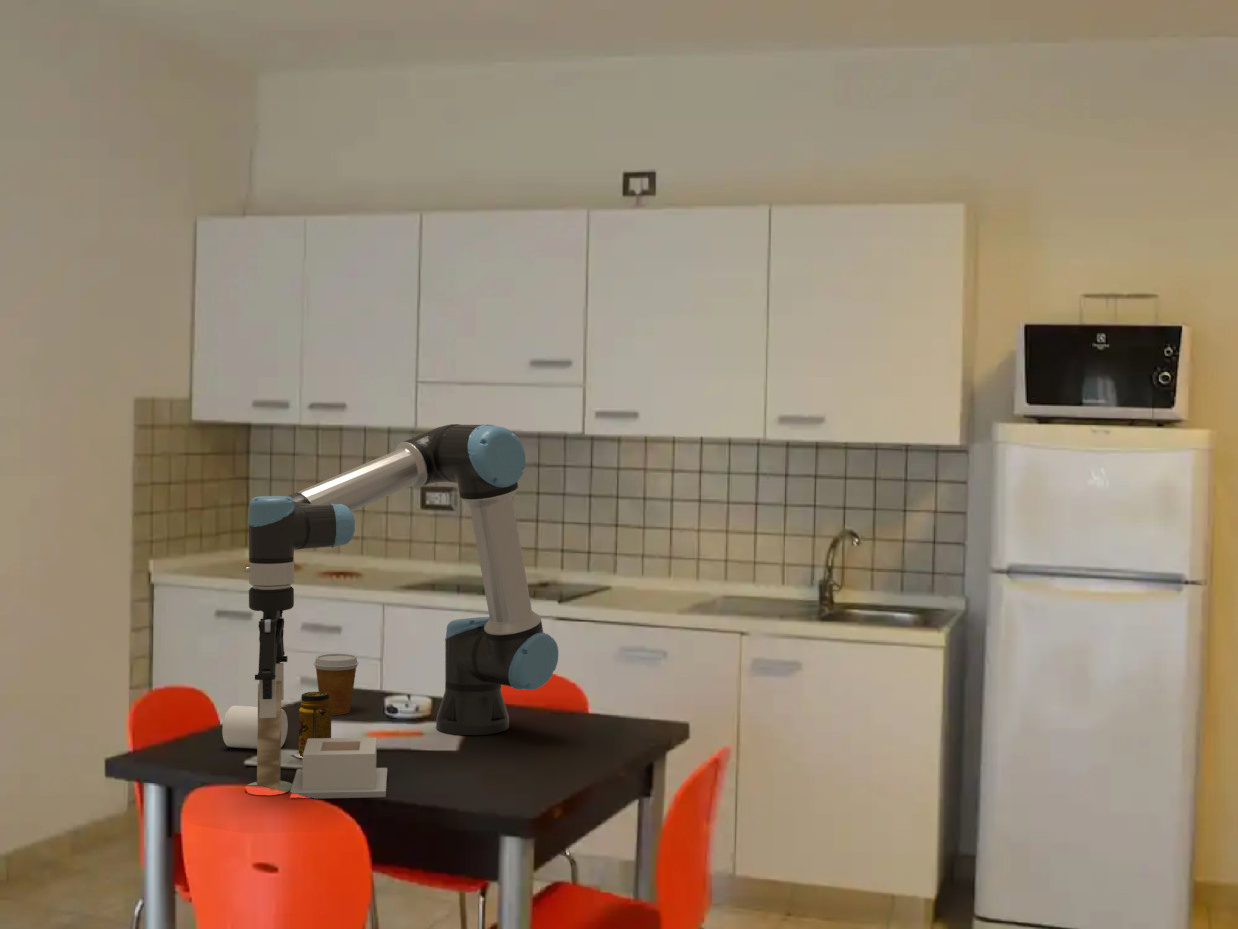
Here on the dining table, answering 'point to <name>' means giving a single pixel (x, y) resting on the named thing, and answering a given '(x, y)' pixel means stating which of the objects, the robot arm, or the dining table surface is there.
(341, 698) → the disposable coffee cup
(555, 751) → the dining table surface
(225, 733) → the mug
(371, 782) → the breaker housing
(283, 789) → the coaster
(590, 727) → the dining table surface
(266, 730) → the beige wooden block
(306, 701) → the condiment
